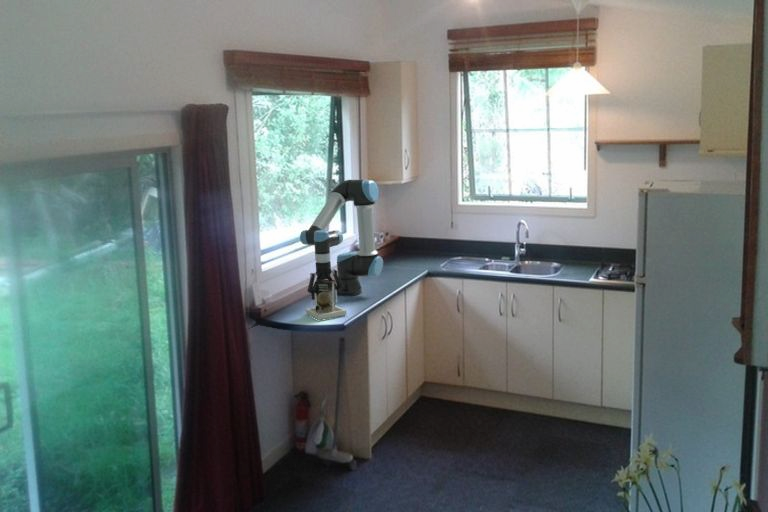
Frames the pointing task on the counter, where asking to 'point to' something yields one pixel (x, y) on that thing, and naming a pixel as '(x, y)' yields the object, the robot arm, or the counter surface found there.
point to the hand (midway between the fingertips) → (325, 303)
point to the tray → (321, 316)
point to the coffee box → (325, 296)
